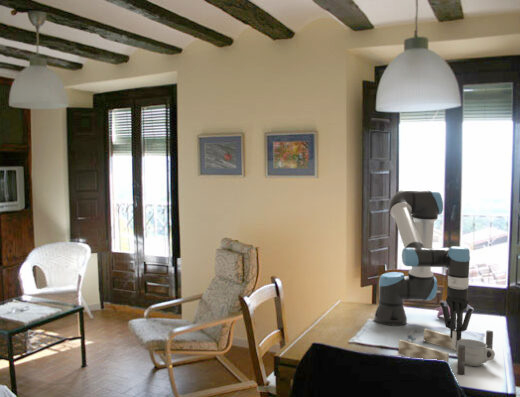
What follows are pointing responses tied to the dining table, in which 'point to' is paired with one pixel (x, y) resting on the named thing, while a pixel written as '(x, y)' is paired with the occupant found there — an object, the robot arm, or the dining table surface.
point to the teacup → (475, 352)
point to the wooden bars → (430, 353)
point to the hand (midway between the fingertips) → (455, 347)
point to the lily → (441, 310)
